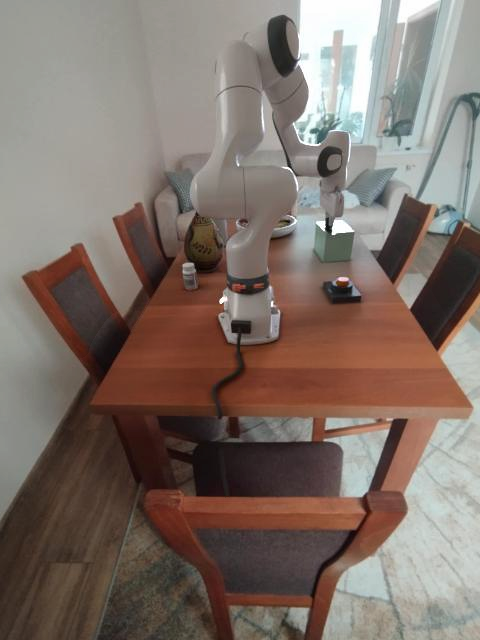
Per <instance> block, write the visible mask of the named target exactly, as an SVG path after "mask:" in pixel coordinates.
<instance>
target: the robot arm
mask: <svg viewBox="0 0 480 640" xmlns="http://www.w3.org/2000/svg"><path fill="white" fill-rule="evenodd" d="M301 57H302V46H301V39H300V35H299V31H298V28H297V26H296V24H295V22H294V20H293V18H291V17H289V16H287V15H286V14H279V15H276V16H273V17H270V19H269V20H268V21H267V22H265V23H262V24H260V25H259V26H256V27H254V28H253V29H251V30H249V31H247V32H245V33H243V34H242V35H241V36H239V37H238V39H232V40H229V41H228V42H226V43H225V44H224V45H223V46H222V47H220V50H219V51H218V53H217V57H216V61H215V64H214V65H215V66H214V107H215V142H214V146H213V150H212V152H211V155H210V156H209V158H208V160H207V162H205V164H204V165H203V167H201V169H200V170H198V171H197V172H196V174H195V175H194V177H193V178H192V180H191V183H190V187H189V199H190V202H191V205H192V207H193V209H194V211H195V213H196V212H197V213H198V214H199V215H200V216H201V217H205V218H210V219H218V220H223V219H226V220H239V219H240V218H246V219H249V221H248V224H247V225H246V227H245V228H244V229H242V230H241V231H237V232H236V233H234V234H232V236H230V237H229V239H228V242H227V244H226V246H225V256H226V257H225V259H226V269H227V270H226V275H225V280H226V288H225V289H224V290H222V297H221V298H220V299H219V304H222V303H223V309H222V311H223V312H221V313H219V314H218V317H217V319H218V321H219V323H220V327H221V328H222V331H223V333H224V336H225V338H226V341H227V342H228V343H230V344H231V345H232V344H233V345H236V359H237V361H238V366H237V369H236V370H235V371H234V372H232V373H231V374H229V375H228V376H226V377H224V378H223V379H221V380H219V381H218V382H216V384H215V385H214V386H213V388H212V390H211V398H212V401H213V402H214V404H215V408H216V413H217V419H218V421H219V420H222V419H223V411H222V410H223V409H222V406H221V403H220V401H219V399H218V397H217V391H218V389H219V387H221V386H223V384H225V383H227V382H229V381H231V380H233V379H234V378H236V377H237V376H238V375H239V374H240V373H241V371H242V368H243V364H244V363H243V360H242V356H241V355H242V354H241V346H242V345H243V346H249V345H261V344H262V345H263V344H267V343H271V342H274V341H276V340H278V339H279V337H280V324H281V310H280V309H279V308H278V306H277V305H274V302H276V301H277V296H274V287H273V286H272V285H270V279H271V278H270V276H271V275H270V270H269V268H268V260H269V259H268V257H269V247H270V240H271V238H270V237H271V235H272V232H273V230H274V228H275V227H276V225H277V224H278V222H279V221H280V220H281V219H282V218H283V217H284V216H285V215H288V213H290V212H291V211H292V210H293V208H294V207H295V205H296V203H297V200H298V197H299V182H298V179H297V177H300V178H301V177H307V178H317V179H320V180H319V183H318V186H319V206H320V207H321V209H323V210H324V215H325V218H328V217H329V220H328V225H329V226H333V224H334V221H336V220H335V219H336V218H342V217H343V216H344V208H345V195H344V193H343V192H344V191H345V190H346V187H347V178H348V170H347V169H348V164H349V161H350V156H351V155H350V154H351V135H350V133H349V132H348V131H345V130H337V129H334V130H329V131H328V132H327V135H326V137H325V138H324V140H322V141H321V142H320V143H319V144H318V143H317V144H314V143H306V142H304V141H302V140H301V139H300V137H299V134H298V131H297V128H296V125H295V123H296V122H297V121H299V119H300V118H301V117H302V116H303V115H304V113H305V112H306V110H307V109H308V106H309V103H310V98H311V90H310V86H309V82H308V79H307V76H306V74H305V72H304V70H303V68H302V67H303V66H302V65H301V63H300V60H301ZM264 94H265V97H266V98H267V100H268V102H269V104H270V106H271V109H272V111H271V120H272V122H273V127H274V129H275V132H276V135H277V137H278V140H279V143H280V145H281V147H282V150H283V152H284V156H285V160H286V165H287V167H286V166H281V165H274V164H260V165H245V166H243V165H240V164H241V163H242V162H243V160H244V159H245V158H246V157H248V156H249V155H251V154H252V153H254V152H256V150H258V148H259V147H260V146H261V144H262V143H263V141H264V137H265V114H264V113H265V112H264ZM218 455H219V465H220V471H221V472H220V473H221V479H222V484H223V490H224V495H225V496H229V497H230V494H229V493H230V492H229V487H228V481H227V473H226V466H225V457H224V456H225V455H224V448H218ZM225 496H224V497H225Z"/></svg>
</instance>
